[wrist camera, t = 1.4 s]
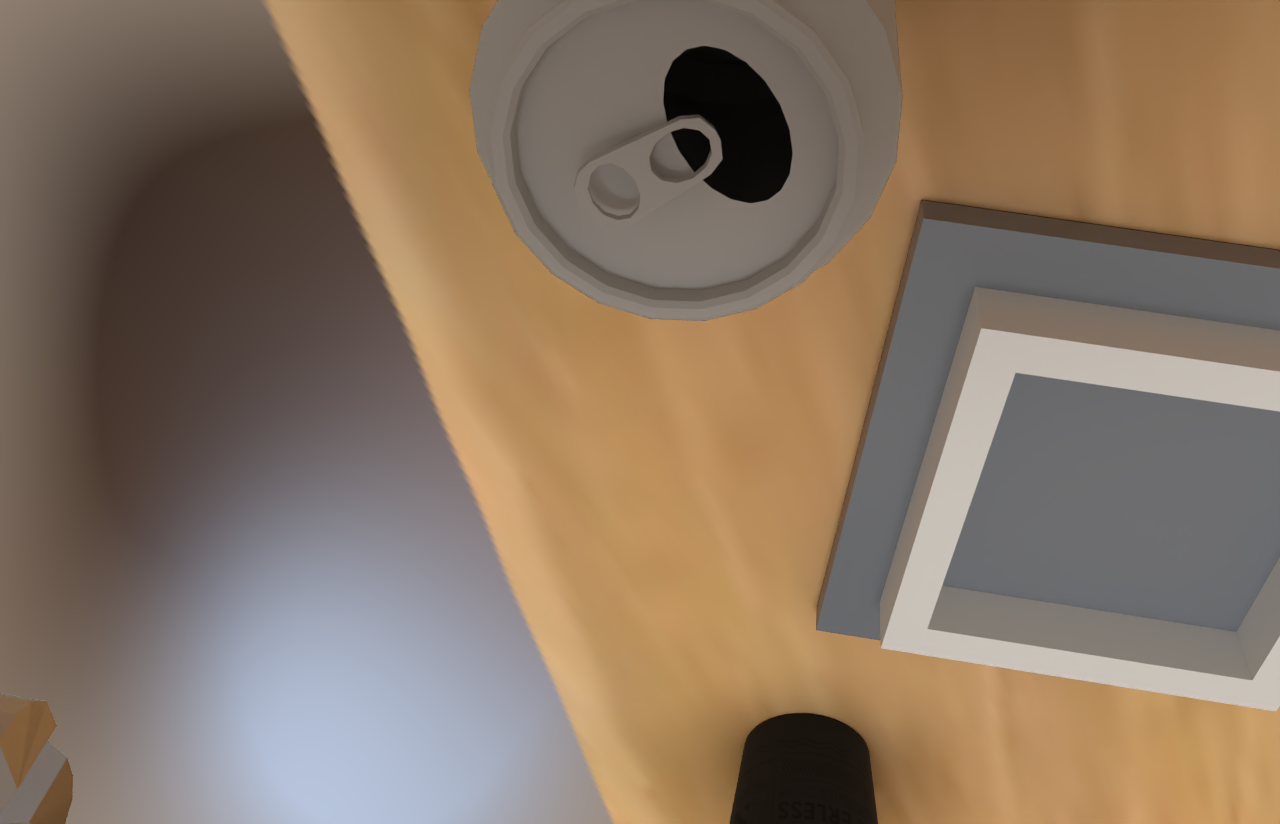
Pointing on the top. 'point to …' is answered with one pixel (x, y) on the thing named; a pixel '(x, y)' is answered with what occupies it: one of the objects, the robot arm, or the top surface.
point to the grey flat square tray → (1072, 459)
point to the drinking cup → (804, 774)
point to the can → (687, 141)
